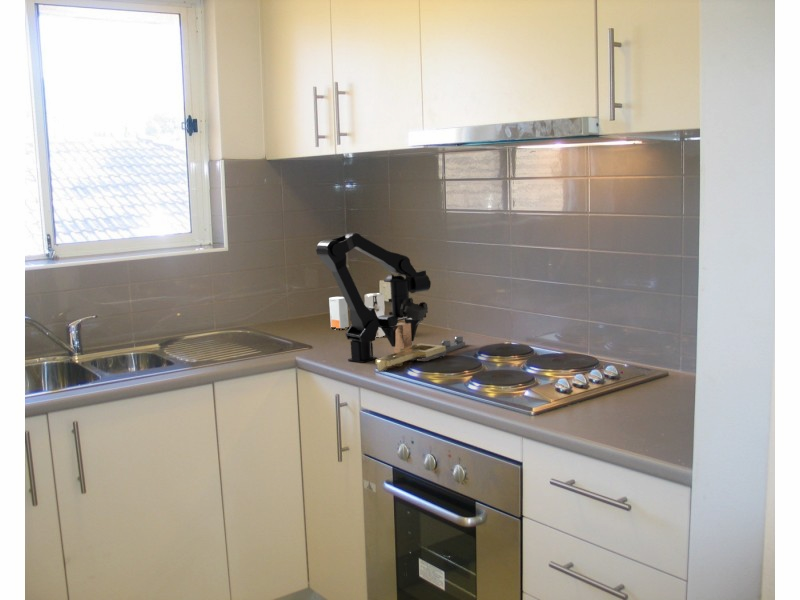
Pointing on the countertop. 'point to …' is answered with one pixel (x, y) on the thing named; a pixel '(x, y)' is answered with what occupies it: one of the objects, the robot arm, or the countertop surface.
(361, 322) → the robot arm
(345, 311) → the skincare box
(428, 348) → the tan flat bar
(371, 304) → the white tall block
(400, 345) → the reddish tan block
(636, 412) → the countertop surface
